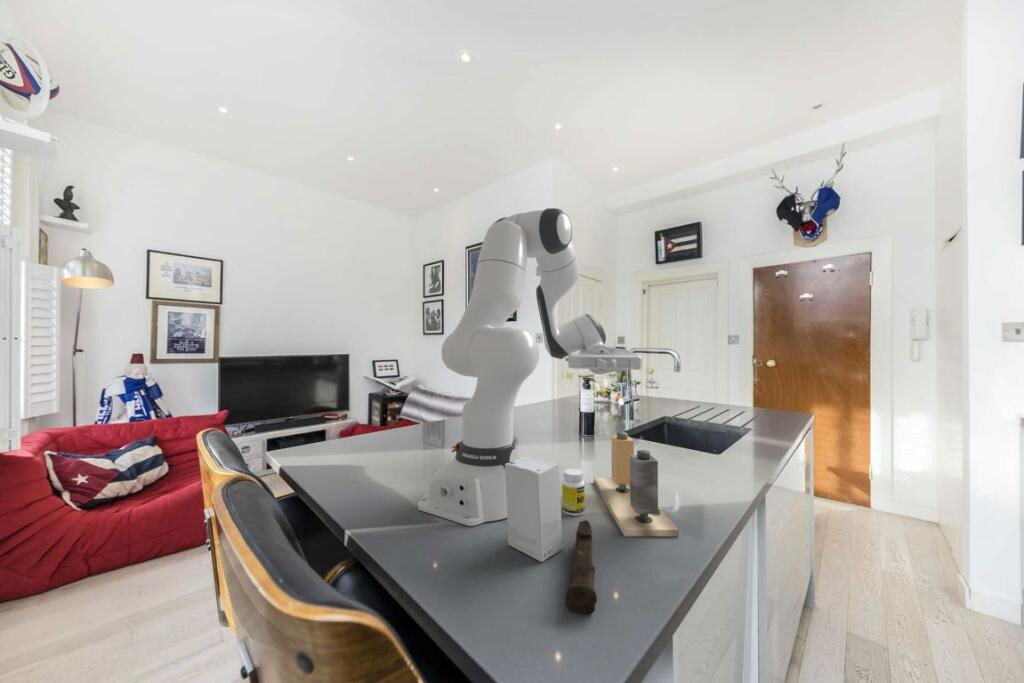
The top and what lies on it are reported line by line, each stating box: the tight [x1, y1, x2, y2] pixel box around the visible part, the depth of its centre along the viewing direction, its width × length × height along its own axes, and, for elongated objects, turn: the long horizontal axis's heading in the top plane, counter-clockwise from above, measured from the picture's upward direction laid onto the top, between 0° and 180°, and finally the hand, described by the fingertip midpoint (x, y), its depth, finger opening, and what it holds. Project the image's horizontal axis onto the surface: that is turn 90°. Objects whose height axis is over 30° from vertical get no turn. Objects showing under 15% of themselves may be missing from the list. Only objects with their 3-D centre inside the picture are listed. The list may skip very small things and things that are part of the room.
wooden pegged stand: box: [593, 449, 680, 537], centre depth 81 cm, size 10×26×14 cm, turn 0°
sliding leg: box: [610, 431, 635, 490], centre depth 86 cm, size 4×4×13 cm
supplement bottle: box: [561, 468, 586, 517], centre depth 78 cm, size 5×5×8 cm
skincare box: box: [505, 456, 563, 563], centre depth 65 cm, size 8×6×15 cm
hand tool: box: [565, 520, 598, 615], centre depth 58 cm, size 19×4×5 cm, turn 165°
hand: (609, 365), depth 97 cm, fingers closed
